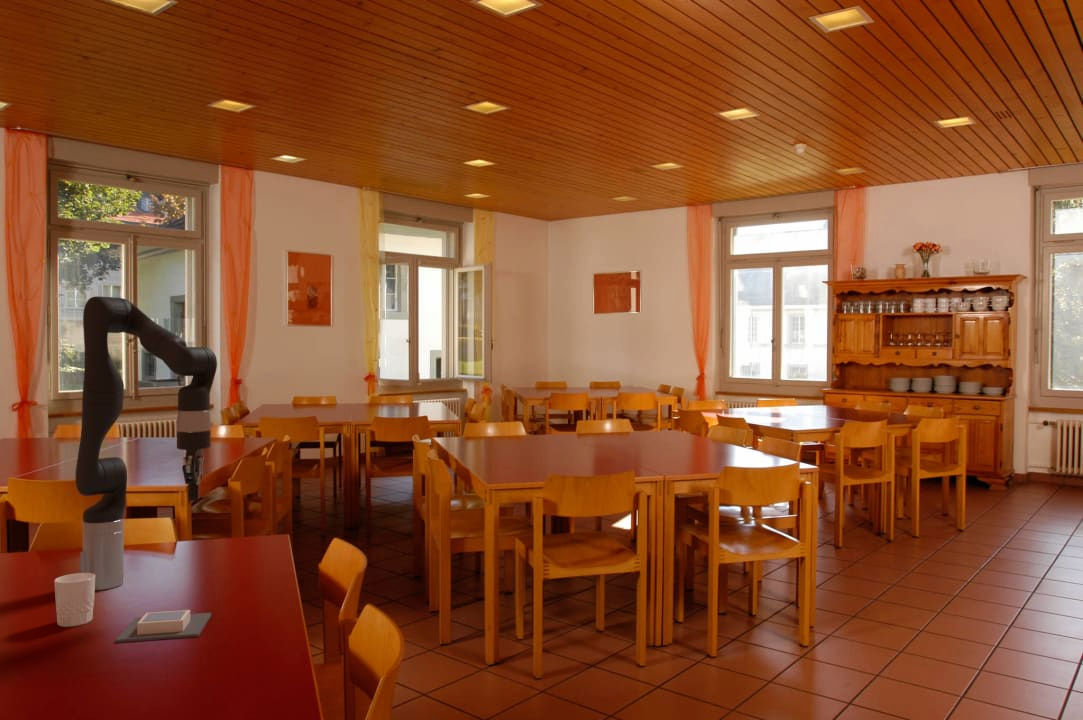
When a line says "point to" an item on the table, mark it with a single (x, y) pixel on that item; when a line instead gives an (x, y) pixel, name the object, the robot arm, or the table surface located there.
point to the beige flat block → (163, 622)
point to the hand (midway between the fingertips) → (193, 500)
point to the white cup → (74, 599)
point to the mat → (191, 630)
